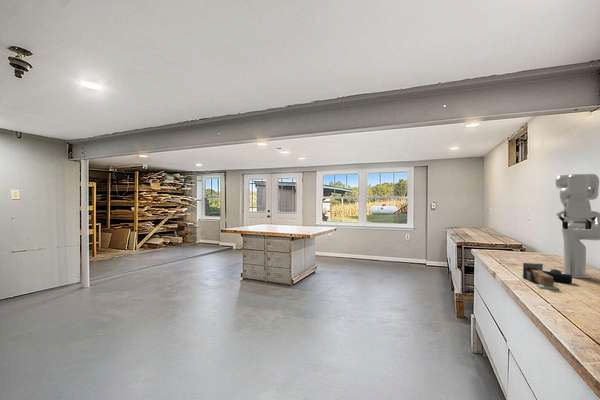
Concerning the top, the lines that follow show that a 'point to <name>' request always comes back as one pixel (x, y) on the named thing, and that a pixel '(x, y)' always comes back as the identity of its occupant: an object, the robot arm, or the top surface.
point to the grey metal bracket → (526, 270)
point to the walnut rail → (542, 277)
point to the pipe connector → (559, 276)
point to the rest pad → (547, 287)
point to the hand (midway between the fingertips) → (576, 229)
